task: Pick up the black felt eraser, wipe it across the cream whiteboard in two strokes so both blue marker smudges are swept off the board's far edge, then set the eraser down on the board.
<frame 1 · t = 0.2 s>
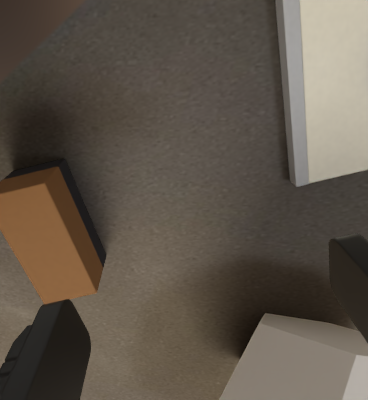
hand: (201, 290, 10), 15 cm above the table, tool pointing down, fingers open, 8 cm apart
eraser: (63, 216, 25), on the table
geometric form: (283, 340, 33), on the table
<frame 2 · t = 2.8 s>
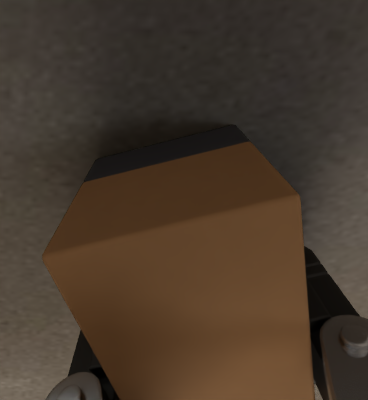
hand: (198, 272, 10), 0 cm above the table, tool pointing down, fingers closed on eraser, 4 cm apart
eraser: (198, 267, 11), on the table, touching gripper
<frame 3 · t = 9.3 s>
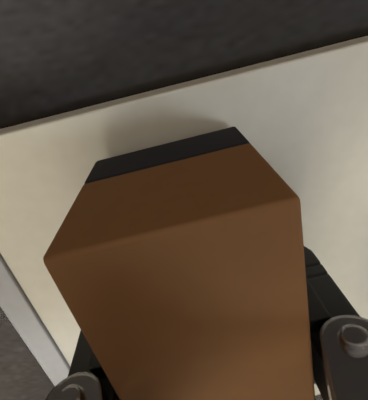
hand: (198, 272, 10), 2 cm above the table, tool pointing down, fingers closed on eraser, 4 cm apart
eraser: (198, 268, 11), point 2 cm above the table, touching gripper
whiteboard: (295, 256, 13), on the table
when the fingers open (1 cm above the table, at t = 20.7 s): eraser stays where it is, resting on whiteboard.
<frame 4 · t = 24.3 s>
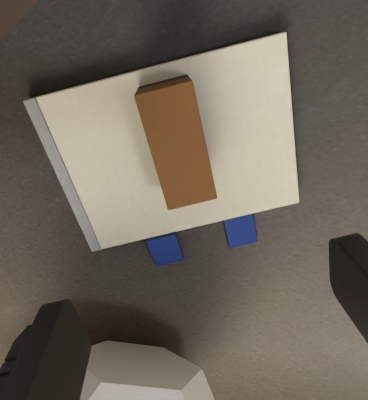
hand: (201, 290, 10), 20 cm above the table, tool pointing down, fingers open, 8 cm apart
eraser: (176, 135, 27), point 1 cm above the table, touching whiteboard
whiteboard: (180, 151, 28), on the table
geometric form: (130, 361, 41), on the table
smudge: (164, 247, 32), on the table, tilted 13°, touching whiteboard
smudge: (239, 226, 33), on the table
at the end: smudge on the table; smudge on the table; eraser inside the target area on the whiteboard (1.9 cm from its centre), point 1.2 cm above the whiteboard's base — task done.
